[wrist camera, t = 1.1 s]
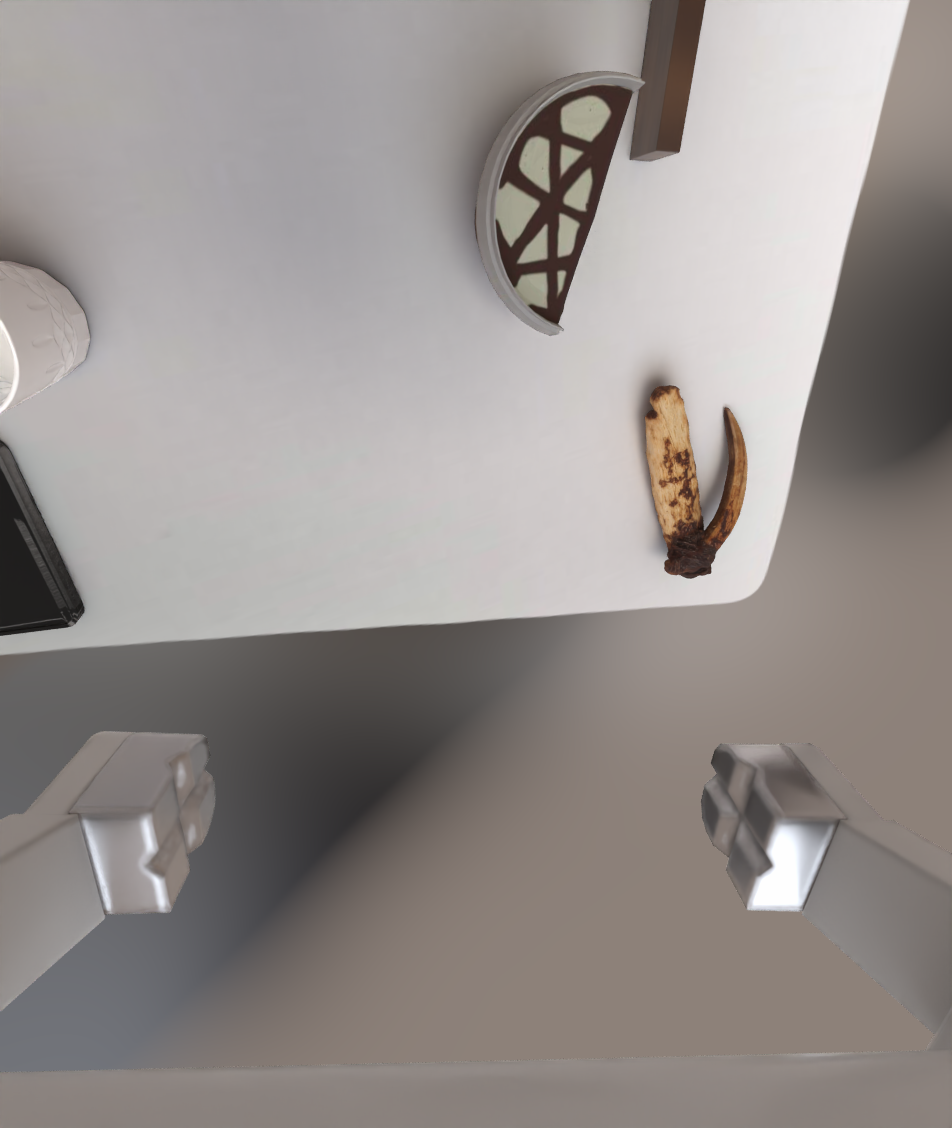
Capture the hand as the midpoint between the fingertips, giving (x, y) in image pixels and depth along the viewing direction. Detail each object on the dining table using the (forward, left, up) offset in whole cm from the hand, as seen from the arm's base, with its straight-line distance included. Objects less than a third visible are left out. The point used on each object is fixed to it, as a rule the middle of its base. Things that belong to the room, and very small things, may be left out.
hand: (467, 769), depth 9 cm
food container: (-10, +7, -36) cm, 38 cm away
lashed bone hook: (+9, +24, -36) cm, 45 cm away
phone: (+13, -30, -36) cm, 48 cm away
